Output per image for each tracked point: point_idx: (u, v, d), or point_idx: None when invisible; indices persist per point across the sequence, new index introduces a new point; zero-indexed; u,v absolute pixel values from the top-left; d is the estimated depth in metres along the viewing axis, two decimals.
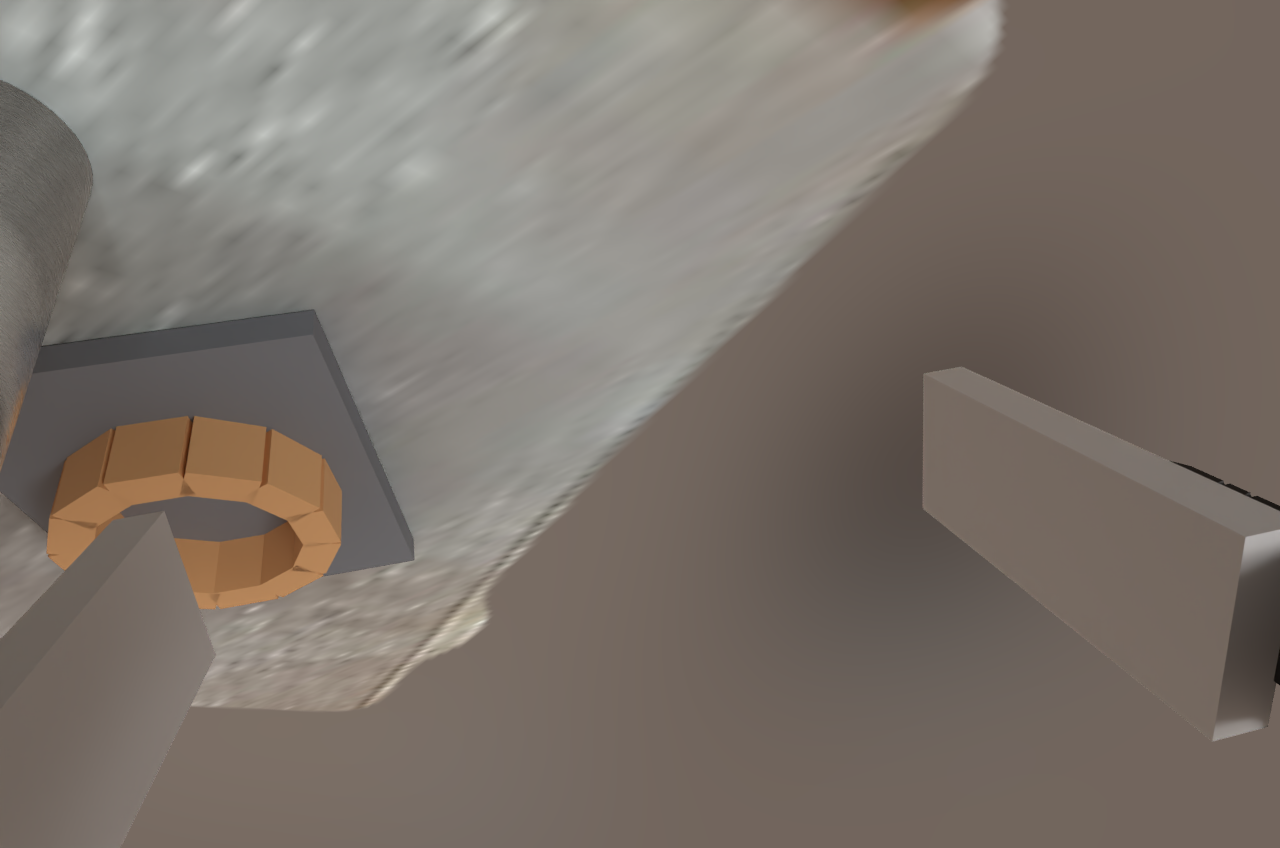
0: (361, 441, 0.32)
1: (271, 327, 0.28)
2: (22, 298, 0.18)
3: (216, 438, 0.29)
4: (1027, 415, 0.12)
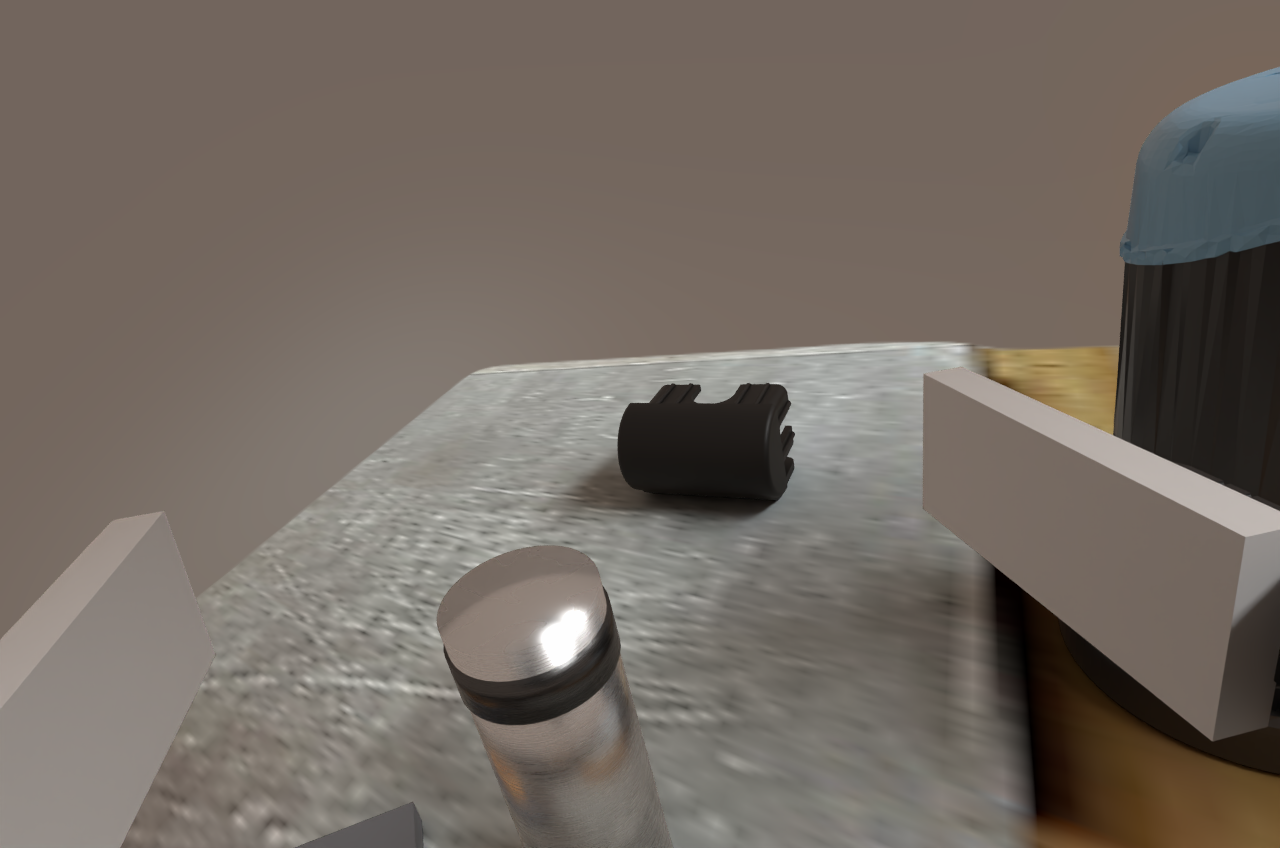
0: None
1: None
2: (598, 832, 0.26)
3: None
4: (1027, 415, 0.12)
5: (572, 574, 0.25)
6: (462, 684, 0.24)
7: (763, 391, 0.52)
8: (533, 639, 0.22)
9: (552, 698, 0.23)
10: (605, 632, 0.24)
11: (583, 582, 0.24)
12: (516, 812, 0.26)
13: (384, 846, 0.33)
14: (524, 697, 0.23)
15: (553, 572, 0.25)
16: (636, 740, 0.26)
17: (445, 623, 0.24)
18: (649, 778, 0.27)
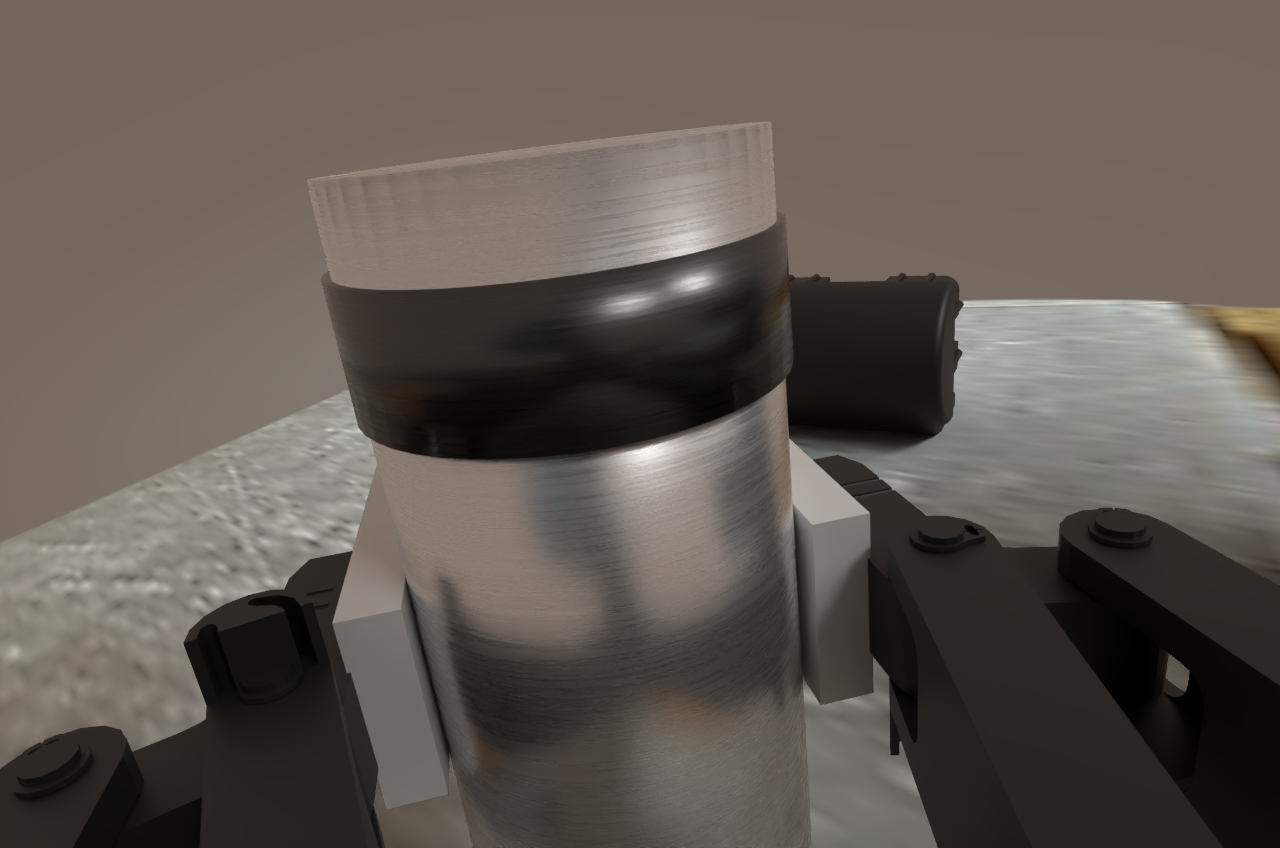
0: None
1: None
2: None
3: None
4: None
5: (691, 130, 0.09)
6: (347, 331, 0.08)
7: (927, 278, 0.36)
8: (573, 149, 0.07)
9: (607, 374, 0.07)
10: (776, 251, 0.08)
11: (723, 127, 0.09)
12: (467, 773, 0.10)
13: None
14: (521, 357, 0.07)
15: (639, 136, 0.10)
16: (796, 627, 0.10)
17: None
18: (805, 746, 0.11)
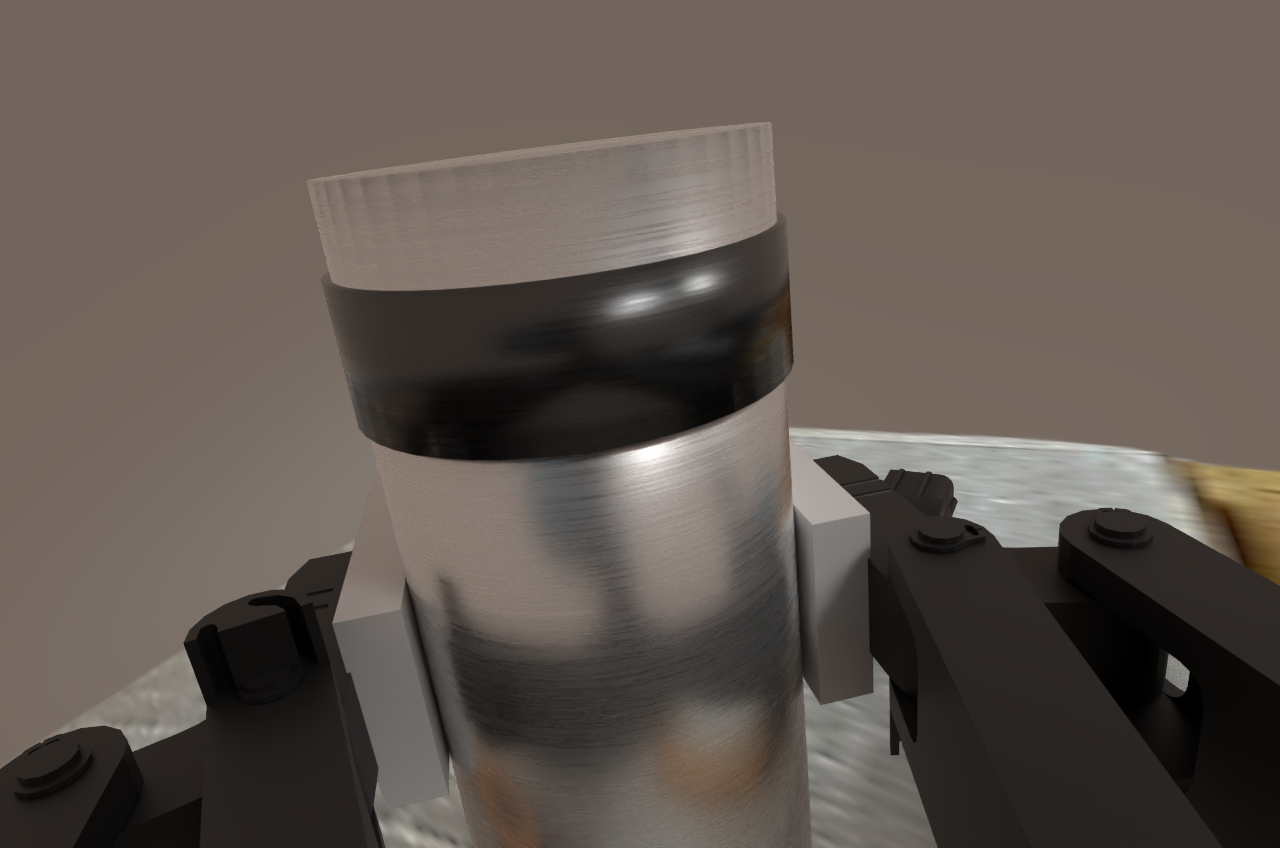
0: None
1: None
2: None
3: None
4: None
5: (691, 131, 0.09)
6: (347, 331, 0.08)
7: (925, 481, 0.39)
8: (573, 150, 0.07)
9: (607, 374, 0.07)
10: (776, 252, 0.08)
11: (723, 127, 0.09)
12: (467, 774, 0.10)
13: None
14: (521, 359, 0.07)
15: (640, 137, 0.10)
16: (797, 628, 0.10)
17: (331, 176, 0.09)
18: (805, 746, 0.11)
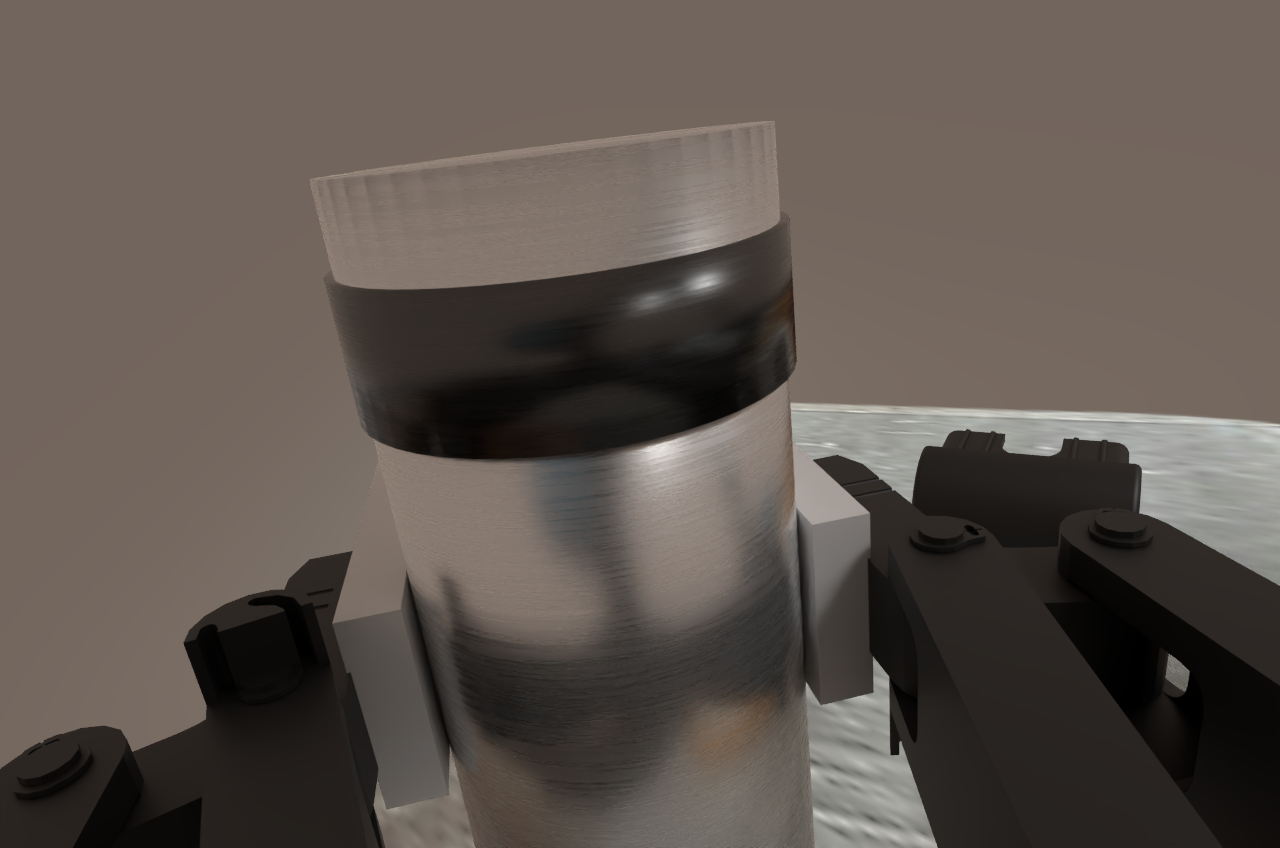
0: None
1: None
2: None
3: None
4: None
5: (694, 129, 0.09)
6: (350, 330, 0.08)
7: (1105, 449, 0.41)
8: (577, 150, 0.07)
9: (611, 373, 0.07)
10: (779, 251, 0.08)
11: (727, 126, 0.09)
12: (470, 773, 0.10)
13: None
14: (524, 357, 0.07)
15: (642, 136, 0.10)
16: (799, 628, 0.10)
17: (334, 175, 0.09)
18: (807, 746, 0.11)
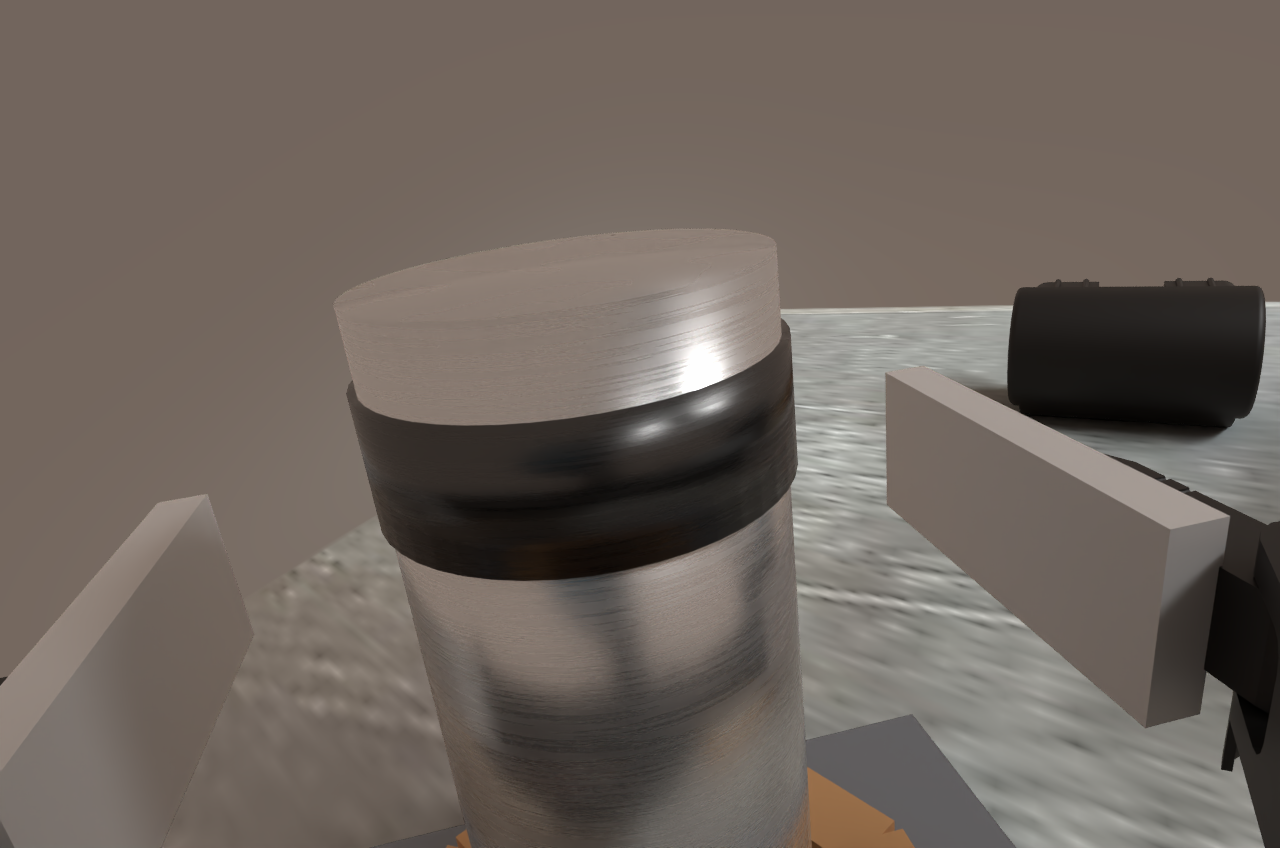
0: None
1: None
2: None
3: None
4: (979, 413, 0.13)
5: (699, 243, 0.10)
6: (374, 452, 0.08)
7: (1214, 283, 0.39)
8: (590, 299, 0.07)
9: (623, 504, 0.08)
10: (781, 371, 0.09)
11: (731, 246, 0.09)
12: None
13: (900, 770, 0.20)
14: (541, 489, 0.08)
15: (649, 245, 0.10)
16: (801, 711, 0.11)
17: (357, 297, 0.09)
18: (809, 819, 0.12)
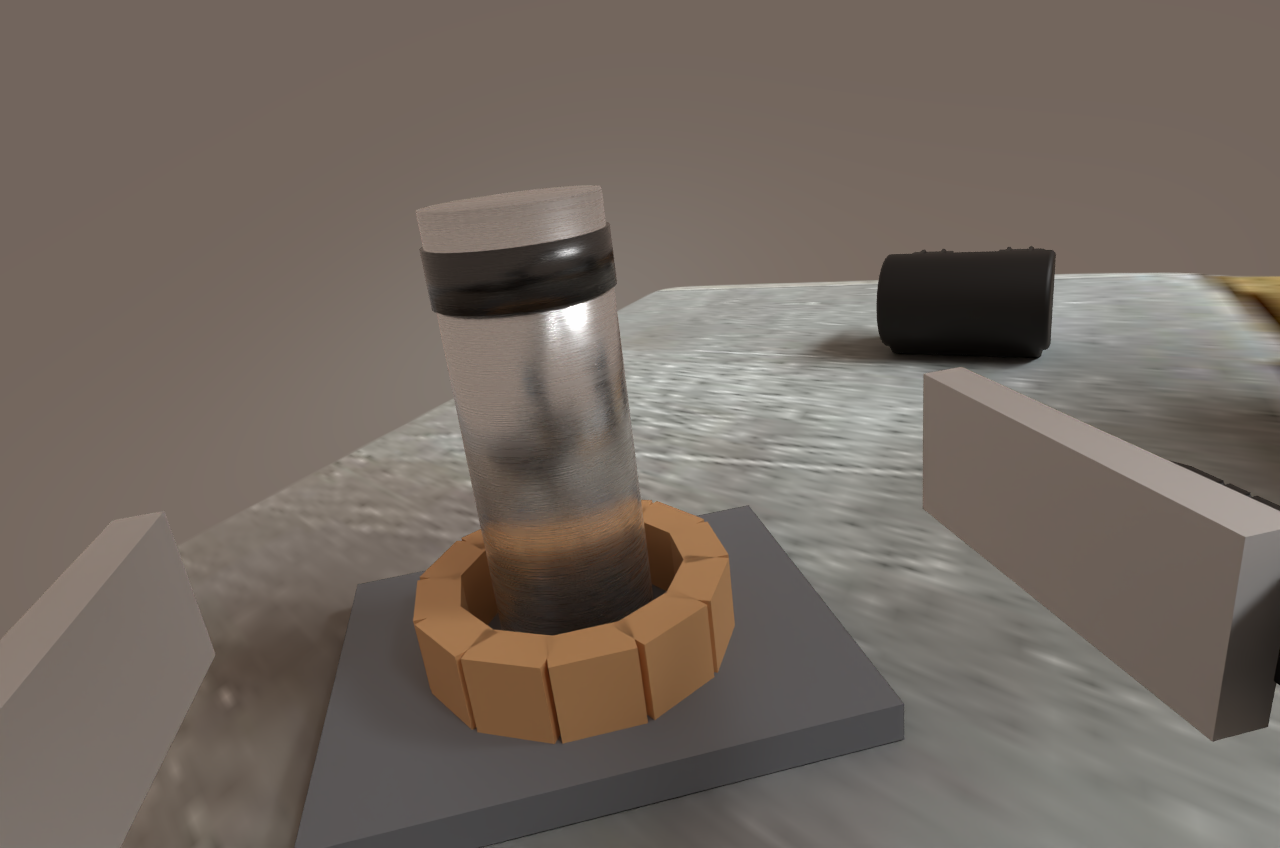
0: (683, 760, 0.21)
1: None
2: (566, 494, 0.22)
3: (727, 616, 0.25)
4: (1027, 415, 0.12)
5: (572, 189, 0.22)
6: (433, 269, 0.21)
7: (1030, 250, 0.52)
8: (516, 203, 0.20)
9: (530, 282, 0.20)
10: (600, 239, 0.21)
11: (582, 189, 0.22)
12: (477, 467, 0.23)
13: (732, 528, 0.32)
14: (499, 277, 0.20)
15: (551, 191, 0.23)
16: (622, 407, 0.23)
17: (424, 209, 0.21)
18: (633, 469, 0.24)
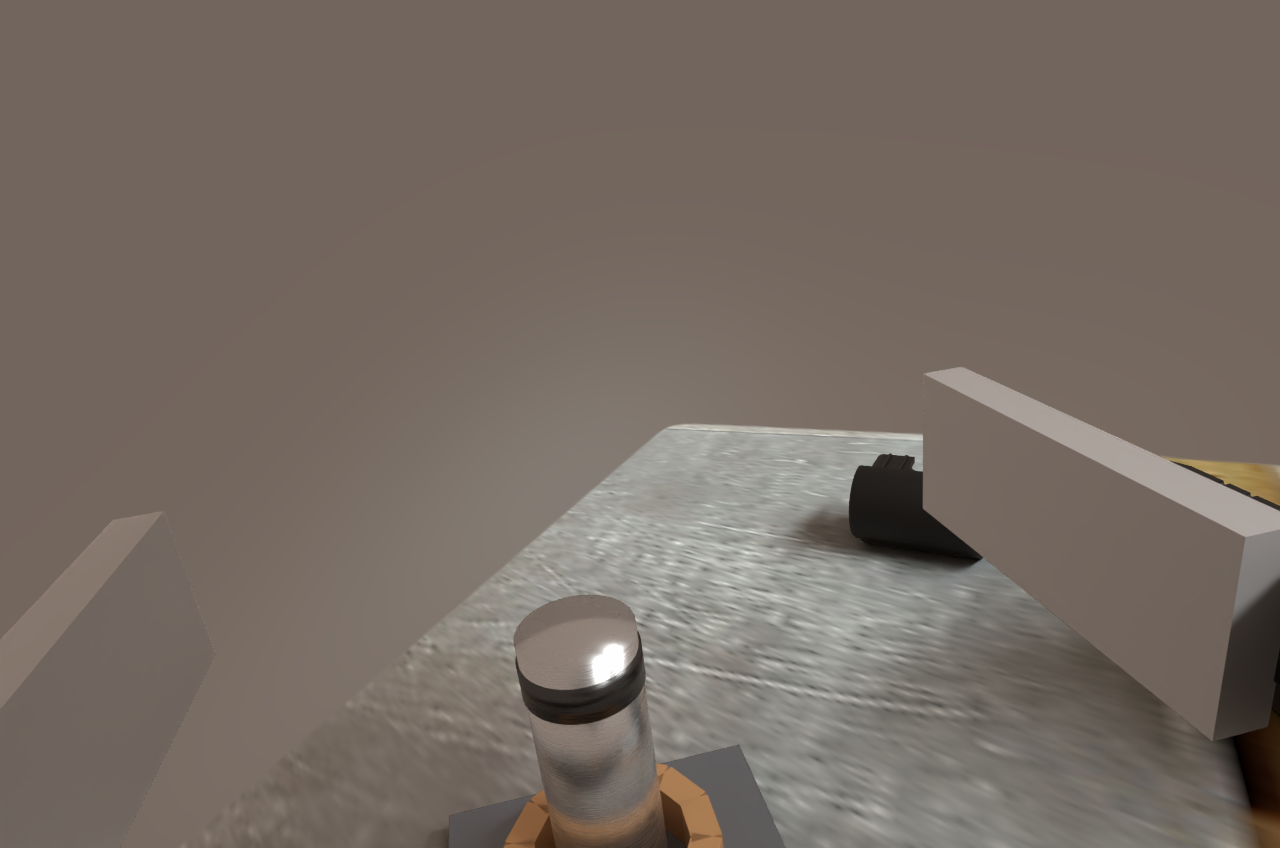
0: None
1: None
2: (612, 821, 0.33)
3: None
4: (1027, 415, 0.12)
5: (615, 618, 0.33)
6: (527, 689, 0.32)
7: None
8: (584, 661, 0.31)
9: (591, 707, 0.31)
10: (635, 664, 0.32)
11: (623, 625, 0.33)
12: (552, 797, 0.34)
13: (726, 771, 0.43)
14: (571, 704, 0.31)
15: (601, 615, 0.34)
16: (649, 753, 0.34)
17: (520, 642, 0.33)
18: (656, 788, 0.35)
